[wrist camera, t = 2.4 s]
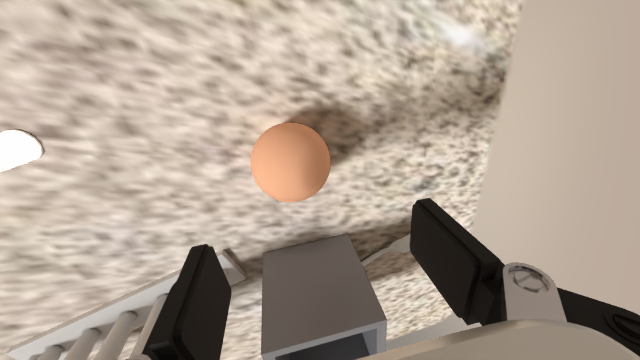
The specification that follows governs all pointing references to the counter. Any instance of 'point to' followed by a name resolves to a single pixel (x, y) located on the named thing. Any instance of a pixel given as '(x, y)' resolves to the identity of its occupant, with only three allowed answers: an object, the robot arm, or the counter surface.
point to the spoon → (18, 149)
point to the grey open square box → (319, 304)
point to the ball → (290, 162)
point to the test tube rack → (111, 323)
